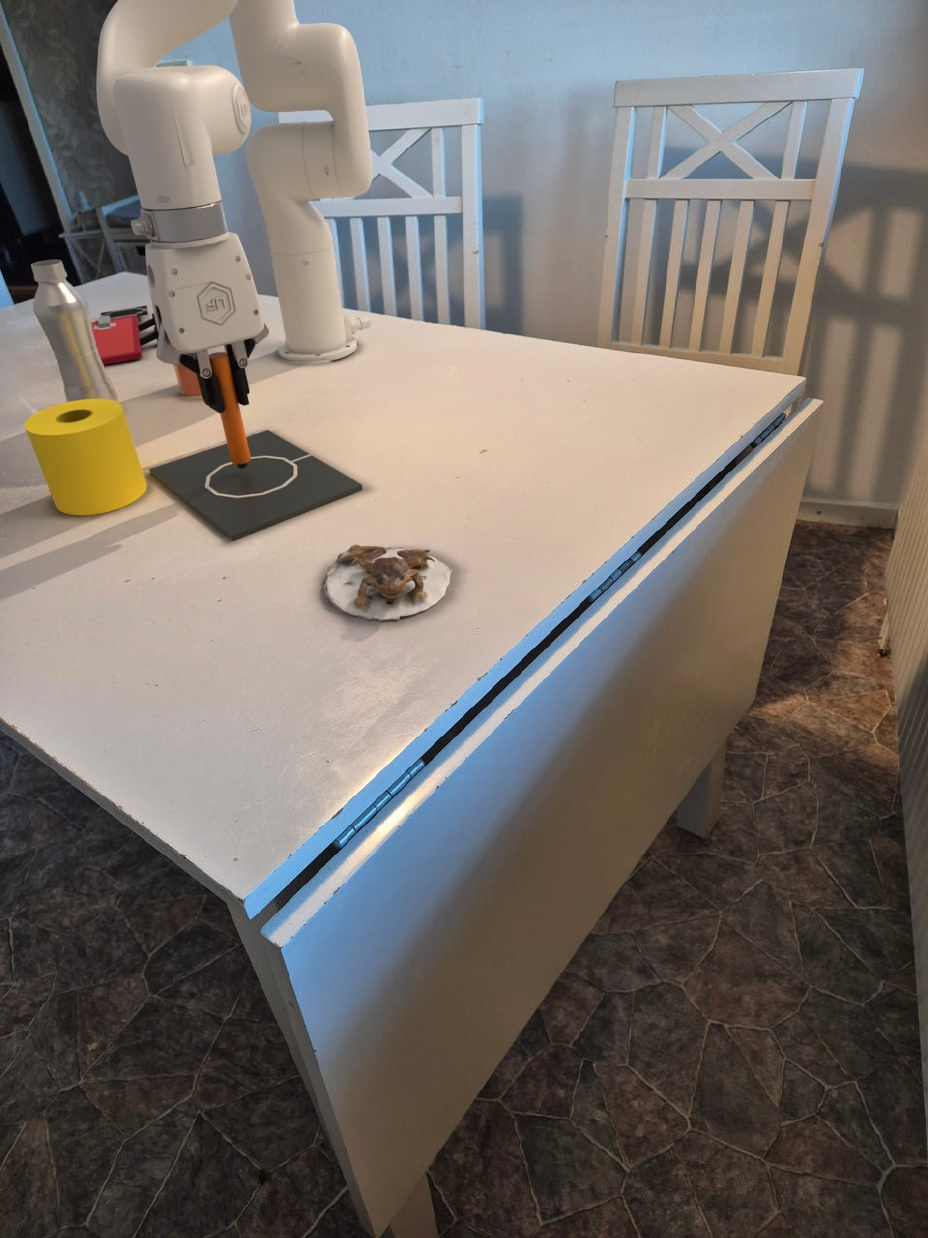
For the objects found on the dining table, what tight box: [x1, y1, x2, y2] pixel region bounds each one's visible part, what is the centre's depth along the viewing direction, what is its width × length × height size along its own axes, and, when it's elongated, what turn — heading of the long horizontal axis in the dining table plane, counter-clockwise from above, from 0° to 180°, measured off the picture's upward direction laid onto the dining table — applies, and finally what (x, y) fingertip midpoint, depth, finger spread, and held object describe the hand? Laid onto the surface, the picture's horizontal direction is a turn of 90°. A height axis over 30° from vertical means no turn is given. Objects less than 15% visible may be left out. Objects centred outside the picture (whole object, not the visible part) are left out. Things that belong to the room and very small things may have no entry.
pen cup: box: [172, 348, 210, 397], centre depth 116 cm, size 5×5×7 cm
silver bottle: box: [30, 259, 119, 403], centre depth 107 cm, size 6×7×20 cm
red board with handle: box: [91, 305, 159, 366], centre depth 142 cm, size 30×3×15 cm
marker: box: [208, 351, 251, 469], centre depth 90 cm, size 2×2×13 cm
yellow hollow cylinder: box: [24, 399, 148, 516], centre depth 90 cm, size 10×10×9 cm
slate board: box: [148, 429, 364, 541], centre depth 94 cm, size 16×22×1 cm
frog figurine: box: [323, 543, 453, 622], centre depth 74 cm, size 12×12×4 cm
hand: (228, 404), depth 90 cm, fingers closed on marker, 2 cm apart
